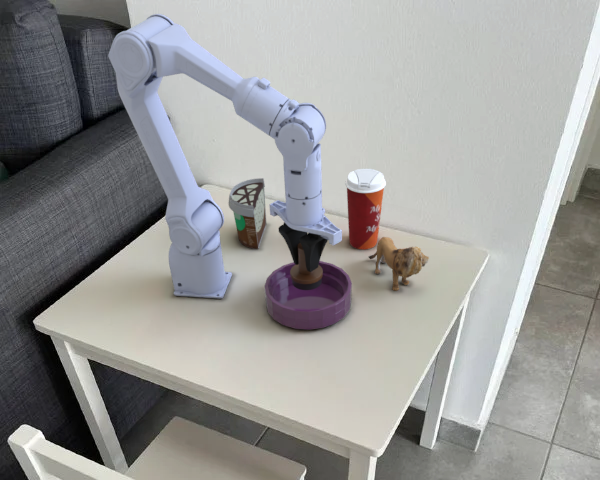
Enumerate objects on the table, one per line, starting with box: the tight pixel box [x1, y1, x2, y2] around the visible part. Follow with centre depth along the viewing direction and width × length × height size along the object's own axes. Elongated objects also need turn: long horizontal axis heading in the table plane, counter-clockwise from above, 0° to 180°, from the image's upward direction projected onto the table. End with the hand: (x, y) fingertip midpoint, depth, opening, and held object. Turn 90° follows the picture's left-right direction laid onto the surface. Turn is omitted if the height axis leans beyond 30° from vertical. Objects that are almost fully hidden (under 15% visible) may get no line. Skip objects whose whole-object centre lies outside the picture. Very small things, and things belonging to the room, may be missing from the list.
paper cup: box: [344, 168, 387, 250], centre depth 122 cm, size 8×8×14 cm
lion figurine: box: [368, 236, 430, 292], centre depth 115 cm, size 15×5×9 cm, turn 33°
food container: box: [228, 177, 267, 250], centre depth 126 cm, size 12×6×10 cm, turn 172°
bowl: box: [264, 260, 353, 331], centre depth 111 cm, size 15×15×4 cm
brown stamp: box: [290, 243, 323, 290], centre depth 106 cm, size 6×6×7 cm
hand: (306, 265), depth 106 cm, fingers closed on brown stamp, 2 cm apart
